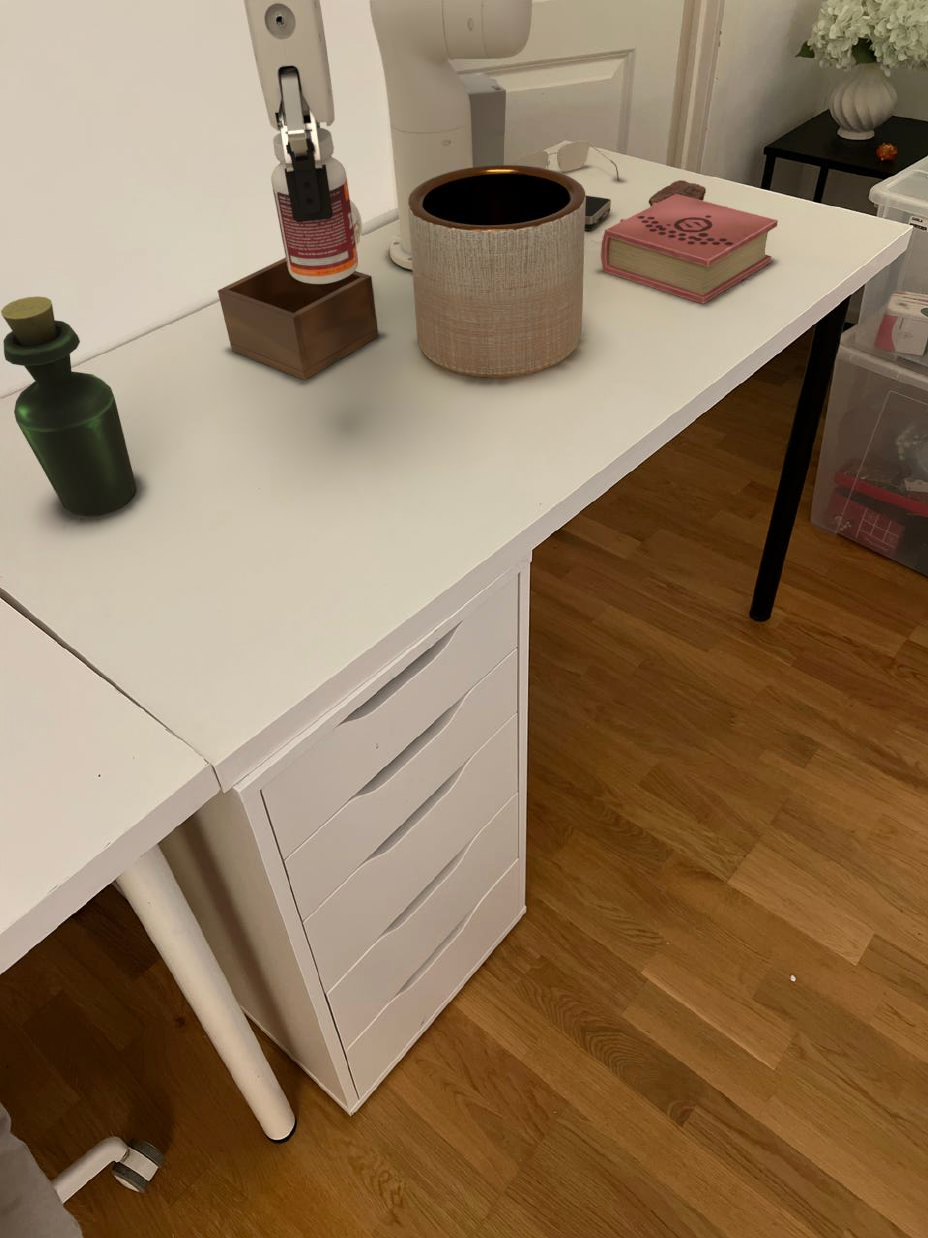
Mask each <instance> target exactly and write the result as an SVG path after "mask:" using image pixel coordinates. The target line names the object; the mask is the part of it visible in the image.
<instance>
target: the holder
mask: <svg viewBox="0 0 928 1238" xmlns="http://www.w3.org/2000/svg"><path fill="white" fill-rule="evenodd" d="M372 278H373V277H372V275H369V274H367V273H363V272H360V271H358V270H355V271H354V272H353V273H352V274H351V275H349V276H348V277H346V278H344V279H341V280H339V281H336V282H332V283H327V284H311V283H305V282H301V281H298V280H296V279H295V278H294V277H292V276H291V274H290V273H289V270H288V266H287V261H286V256H285V257H284V258H281V259H279V260H277V261H275V262H273V263H271V264H269V265H267V266H265V267H262V268H261V269H259V270H256V271H255V272H253V273H250V274H249V275H247V276H244V277H241V278H240V279H238V280H236V281H234V282H232V283H230V284H228V285H226V286H223V287H222V288H219V289H218V290H217V294H218V299H219V302H220V303H219V304H220V306H221V310H222V315H223V319H224V323H225V328H226V331H227V335H228V336H227V337H228V341H229V345H230V349H231V351H232V352H234V353H236V354H239V355H240V356H243V357H246V358H248V359H251V360H254V361H256V362H258V363H261V364H263V365H266V366H268V367H271V368H274V369H275V370H278V371H281V372H283V373H286V374H288V375H291V376H293V377H294V378H295V377H296V378H297V379H301V380H303V381H306V380H308V379H310V378H311V377H313V376H315V375H316V374H318V373H320V372H321V371H323V370H325V369H327V368H328V367H330V366H332V365H333V364H335V363H337V362H338V361H340V360H341V359H343V358H345V357H346V356H347V357H348V355H351V354H352V353H353V352H355V351H357V350H359V349H360V348H362V347H364V346H365V345H367V344H369V343H370V342H372V341H374V340H375V339H377V338H379V328H378V327H379V326H378V319H377V311H376V310H377V309H376V301H375V294H374V286H373V279H372Z"/></svg>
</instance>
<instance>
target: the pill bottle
mask: <svg viewBox="0 0 928 1238" xmlns="http://www.w3.org/2000/svg"><path fill="white" fill-rule="evenodd" d="M317 131H318V138H319V145H320V153H321V160H322V165H324V164H326V171H327V177H328V184H329V191H330V197H331V204H332V211H333V216H332V218H330V219H324V220H314V221H305V222H296V221H295V220H294V219H293V215H292V210H291V204H290V198H289V193H288V187H287V182H286V176H285V168H286V163H285V156H284V150H283V143H282V136H281V132H279V133H277V134H276V135H274V136H273V139H272V144H273V150H274V156H275V158H276V159H277V161H279V164H277V165H276V166H275V167H274V169H273V171H272V172H271V177H270V180H271V187H272V193H273V197H274V204H275V207H276V213H277V218H278V223H279V228H280V229H279V230H280V235H281V239H282V240H281V241H282V246H283V250H284V256H285V257H286V261H287V266H288V270H289V273H290V274H291V276H292V277H294V278H295V279H296V280H298V281H301V282H305V283H311V284H327V283H332V282H336V281H339V280H341V279H344V278H346V277H348V276H349V275H351V274H352V273H353V272H354V271H357V268H358V266H359V258H358V256H359V255H358V250H357V248H356V242H355V235H354V227H353V219H352V213H351V205H350V200H351V199H350V191H349V184H348V177H347V171H346V168H345V166H344V165H343V164H342V163H341V162H340V161H339V160H338V159H336V158H335V157H333V154H334V151H335V146H334V141H333V135H332V132H331V131H330V130H329V129H326V128H323V127H320V128H318V130H317ZM306 138H310V140H311V133H306ZM311 142H312V140H311ZM313 155H314V154H313Z"/></svg>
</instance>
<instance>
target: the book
mask: <svg viewBox="0 0 928 1238" xmlns="http://www.w3.org/2000/svg"><path fill="white" fill-rule="evenodd" d="M619 220H620V221H619V222H618V223H616V224H614V225H612V226H610V227H608V228H606V229H604V233H603V235H602V236H603V237H602V240H601V243H600V244H601V245H600V246H601V247H600V261H601V268H602V272H605V273H608V274H610V275H614V276H616V277H620V278H623V279H625V280H629V281H632V282H635V283H637V284H641V285H643V286H647V287H650V288H652V289H655V290H659V291H662V292H665V293H668V294H671V295H675V296H678V297H681V298H684V299H686V300H690V301H692V302H696V303H699V304H701V305H704V304H706V303H707V302H709V301H710V300H712V299H714V298H715V297H717V296H718V295H720V294H722V293H724V291H727V290H728V289H730V288H731V287H733V286H735V285H736V284H738V283H739V282H741V281H744V279H746V278H747V277H749V276H750V275H752V274H754V273H756V272H758V271H759V270H760V269H762V268H763V267H765V266H767V265H769V264H770V263H771V262H772V257H773V256H771V255H768V254H766V245H767V240H768V234H769V232H770V231H772V230H773V229H775V228H778V223H779V221H778V219H774V218H771V217H767V216H763V215H759V214H755V213H751V212H748V211H744V210H739V209H736V208H732V207H728V206H725V205H720V204H716V203H712V202H710V201H706V200H703V201H702V200H698V199H694V198H690V197H686V196H682V195H679V194H675V195H673V196H671V197H669V198H667V199H665V200H663V201H661V202H659V203H653V204H652V206H649V207H647V208H646V209H643V210H641V211H640V212H637V213H636V214H633V215H631V216H630V217H627V218H626V219H625V218H621V219H619Z"/></svg>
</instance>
